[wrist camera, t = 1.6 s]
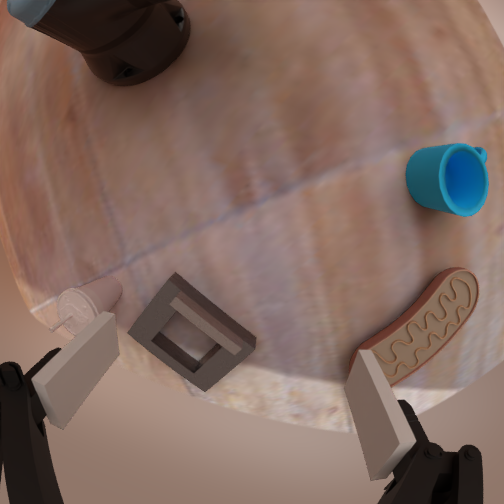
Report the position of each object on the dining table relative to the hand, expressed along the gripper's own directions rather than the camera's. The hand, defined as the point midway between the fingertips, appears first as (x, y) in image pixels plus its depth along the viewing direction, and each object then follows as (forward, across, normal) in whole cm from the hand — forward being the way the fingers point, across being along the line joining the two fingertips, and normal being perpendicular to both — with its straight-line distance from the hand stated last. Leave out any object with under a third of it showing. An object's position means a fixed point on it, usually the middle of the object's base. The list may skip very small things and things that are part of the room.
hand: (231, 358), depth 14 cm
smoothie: (+22, -20, -8) cm, 31 cm away
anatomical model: (+22, +24, -8) cm, 34 cm away
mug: (+22, +23, +15) cm, 36 cm away
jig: (+22, -7, -13) cm, 26 cm away
